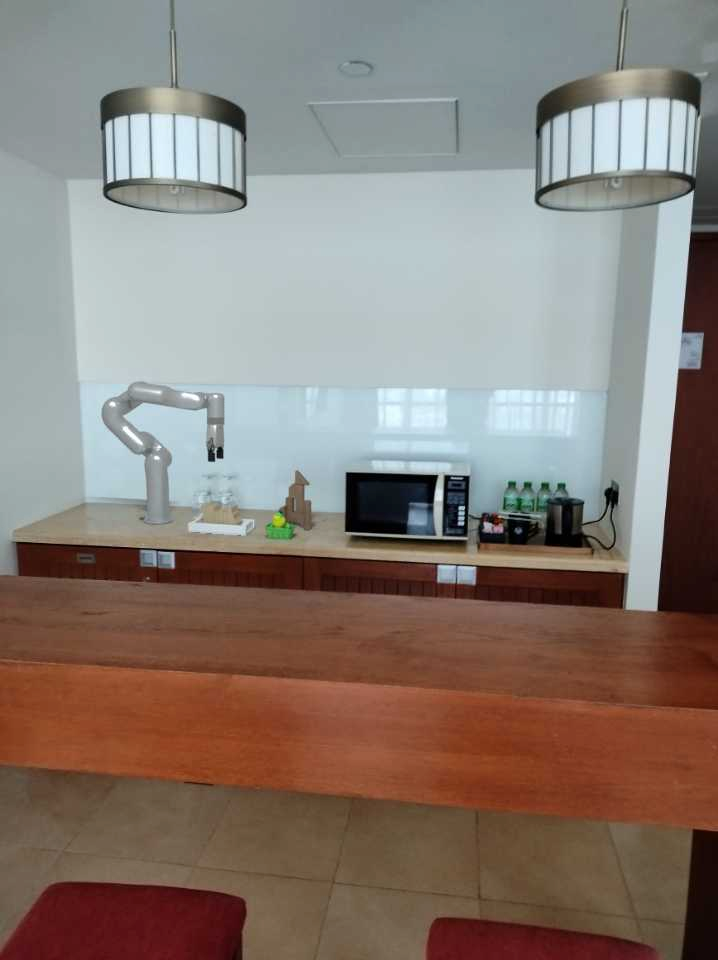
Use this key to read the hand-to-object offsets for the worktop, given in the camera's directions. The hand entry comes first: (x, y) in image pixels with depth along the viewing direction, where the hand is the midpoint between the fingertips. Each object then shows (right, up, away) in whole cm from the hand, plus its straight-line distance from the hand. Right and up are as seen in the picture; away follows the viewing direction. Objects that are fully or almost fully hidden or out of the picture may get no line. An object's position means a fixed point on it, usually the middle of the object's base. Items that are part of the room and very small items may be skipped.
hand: (215, 460), depth 302 cm
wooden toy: (+36, -30, -2) cm, 46 cm away
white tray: (+5, -30, -10) cm, 32 cm away
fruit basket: (+31, -33, -20) cm, 49 cm away
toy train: (+5, -30, -10) cm, 32 cm away
